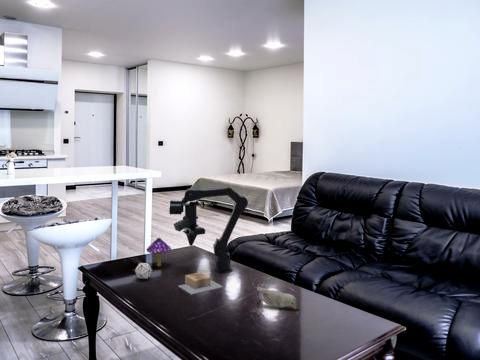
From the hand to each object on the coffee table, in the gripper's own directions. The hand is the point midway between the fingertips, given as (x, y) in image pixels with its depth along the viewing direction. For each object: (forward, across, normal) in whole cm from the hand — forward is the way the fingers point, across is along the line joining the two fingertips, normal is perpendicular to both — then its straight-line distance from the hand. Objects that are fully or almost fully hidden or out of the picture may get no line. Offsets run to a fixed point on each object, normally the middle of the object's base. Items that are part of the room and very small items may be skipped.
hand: (190, 245), depth 203 cm
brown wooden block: (+11, +15, -7) cm, 20 cm away
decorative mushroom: (+13, -16, -10) cm, 23 cm away
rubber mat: (+13, +22, -7) cm, 26 cm away
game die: (+13, -2, -24) cm, 28 cm away
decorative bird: (+13, +58, +6) cm, 60 cm away
